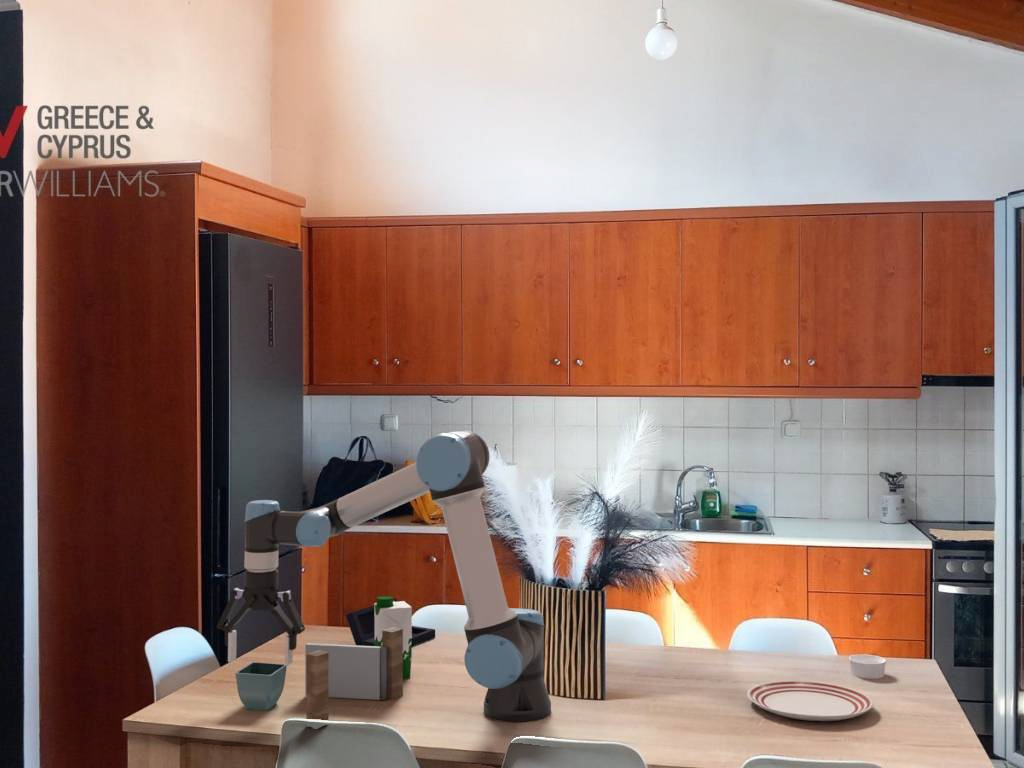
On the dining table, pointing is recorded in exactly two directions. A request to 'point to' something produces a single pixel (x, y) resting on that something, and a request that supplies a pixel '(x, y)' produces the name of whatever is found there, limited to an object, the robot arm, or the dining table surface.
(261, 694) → the flower pot
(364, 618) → the storage box
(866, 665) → the ramekin
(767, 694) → the dinner plate
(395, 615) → the milk carton
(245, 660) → the dining table surface
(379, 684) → the door
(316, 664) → the door frame
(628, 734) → the dining table surface
